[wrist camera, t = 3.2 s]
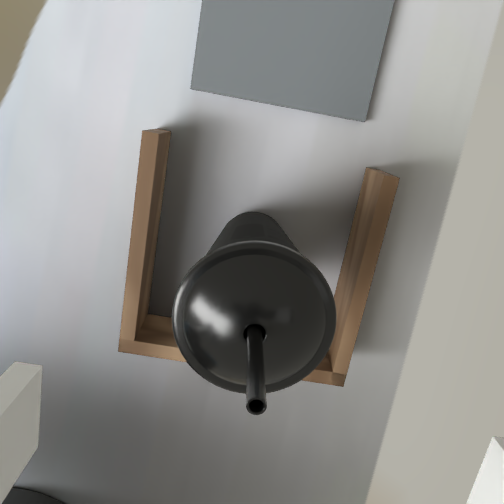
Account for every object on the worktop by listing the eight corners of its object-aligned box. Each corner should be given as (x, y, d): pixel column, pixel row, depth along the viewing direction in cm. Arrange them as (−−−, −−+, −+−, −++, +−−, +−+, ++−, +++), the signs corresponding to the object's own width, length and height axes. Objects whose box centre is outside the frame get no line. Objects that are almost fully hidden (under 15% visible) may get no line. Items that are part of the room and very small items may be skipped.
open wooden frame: (133, 323, 36) (118, 351, 32) (156, 128, 32) (142, 130, 28) (332, 355, 37) (343, 386, 33) (379, 170, 33) (399, 178, 28)
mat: (191, 89, 31) (190, 88, 31) (219, -118, 28) (218, -123, 27) (362, 121, 32) (365, 121, 31) (410, -76, 28) (413, -80, 28)
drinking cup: (180, 249, 34) (93, 417, 15) (246, 171, 33) (243, 248, 14) (257, 310, 36) (267, 534, 17) (324, 238, 34) (421, 394, 15)
